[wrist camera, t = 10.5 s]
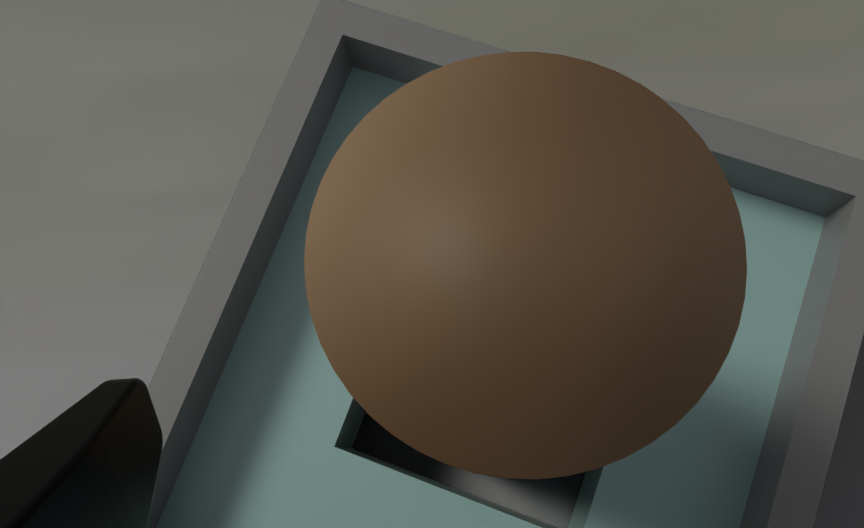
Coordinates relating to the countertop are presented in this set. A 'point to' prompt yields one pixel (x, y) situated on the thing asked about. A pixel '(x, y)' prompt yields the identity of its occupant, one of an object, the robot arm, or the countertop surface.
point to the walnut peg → (525, 265)
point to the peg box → (342, 415)
